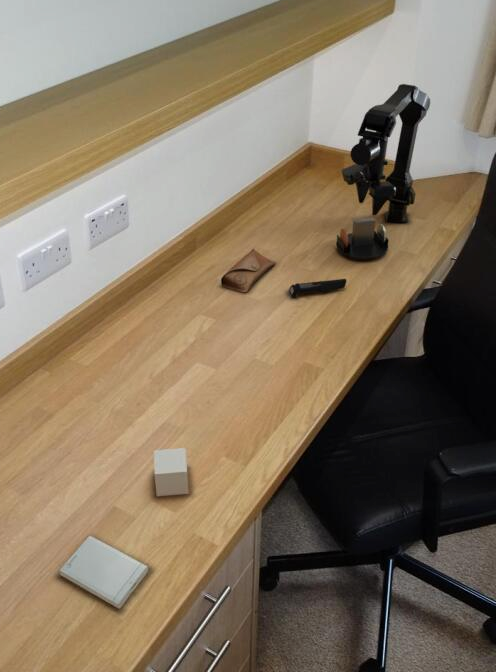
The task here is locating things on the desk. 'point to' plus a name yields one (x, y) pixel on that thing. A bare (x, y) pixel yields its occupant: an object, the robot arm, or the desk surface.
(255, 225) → the desk surface
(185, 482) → the light grey cube
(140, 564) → the hard drive
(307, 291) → the electric trimmer
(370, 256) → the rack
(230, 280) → the sunglasses case
